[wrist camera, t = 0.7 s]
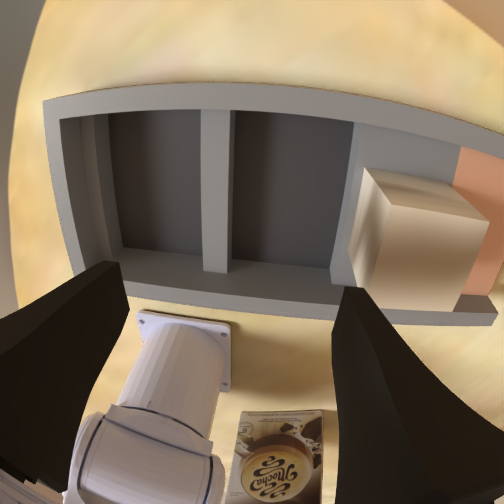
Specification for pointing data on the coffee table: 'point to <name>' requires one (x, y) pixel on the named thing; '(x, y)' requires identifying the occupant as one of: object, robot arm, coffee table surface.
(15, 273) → the coffee table surface
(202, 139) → the tray
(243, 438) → the coffee box
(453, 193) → the cream block
